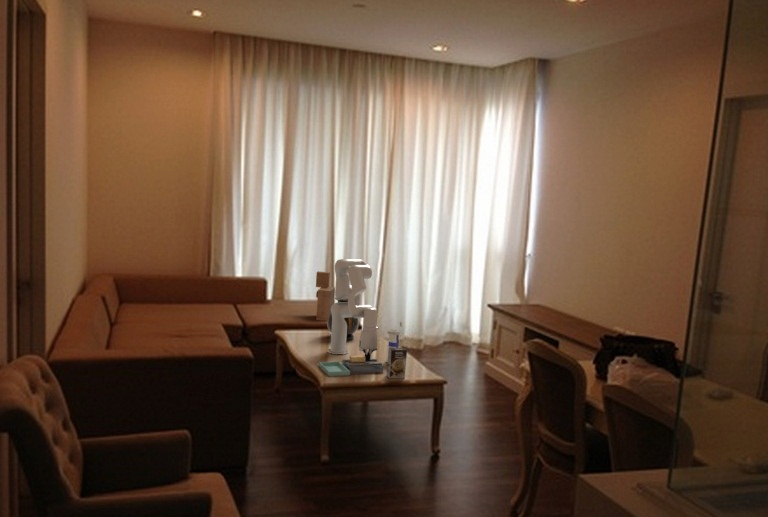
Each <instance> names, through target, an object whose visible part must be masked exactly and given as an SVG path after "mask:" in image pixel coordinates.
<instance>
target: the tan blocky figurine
mask: <svg viewBox="0 0 768 517" xmlns="http://www.w3.org/2000/svg"><path fill="white" fill-rule="evenodd" d="M315 278H316V279H315V288H318V290H316V293H315V294H316V296H315V297H316V300H317V302H316V318H315V320H316V321H322V322H323V321H324V322H325V321H326V322H327V320H328V316H329V314H330V312H331V307H332V305H333V304H334V303H335V286H330V278H331V272H328V271H317V272H316V277H315Z"/></svg>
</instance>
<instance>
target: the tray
mask: <svg viewBox="0 0 768 517" xmlns="http://www.w3.org/2000/svg"><path fill="white" fill-rule="evenodd" d="M318 367H319V368H320V369H321V370H322V372H324V373H325V375H326V376H328V377H347V376H348V377H349V376H351V374H350V371H349V370H348V369H347V368H346V367H345V366H344V365H342V362H340V361H318Z"/></svg>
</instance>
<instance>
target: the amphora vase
mask: <svg viewBox="0 0 768 517" xmlns="http://www.w3.org/2000/svg"><path fill="white" fill-rule="evenodd" d="M334 300H336V301H337V302H348V300H337V299H336V297H335V296H334ZM344 320H345V321H346V323H347V337H346V341H350V340H353V339H354V338H355V335H354V334H355V333H356V332H357V330H358V329H359V323H360V322H359V318H353V317H346V318H344ZM326 326H327V329H328V331H329V332H330V335H329V336H330V338H331V332H332V312H330V314H329V316H328V320H327V321H326Z"/></svg>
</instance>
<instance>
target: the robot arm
mask: <svg viewBox="0 0 768 517" xmlns="http://www.w3.org/2000/svg"><path fill="white" fill-rule="evenodd" d="M334 274H335V286H334V287H335V293H334V298H335V297H336V299H337V300H348V302H338V301H337V300H336V299H335V300H336V301H337V302H334V304H333V305H332V307H331V312H332V332H330V334H331V337H330V348H329V349H327V352H328V354H331V353H332V354H331V355H337V354H343V355H347V354H348V353H349V350H348V349H347V347H346V346H347V340H346V337H347V323H346V321H345V320H344V318H346V317H353V318H358V319H363V322H362V330H361V331H360V335H359V340H358V341H359V342H358V351H360V352H363V353H364V356H365V357H366V359H365V360H366V361H370V359H372V358H371V357H372V354H373V352H376V351H378V345H379V344H378V340H379V339H378V332H377V330H379V327H378V326H377V318H378V309H377V307H373V306H372V305H371V304H361V294H362V293H364V292H365V291H366V290H367V285H366V280H368V279H370V278H372V276H373V269H372V267H371V266H370V264H368V263H367V262H366V261H365V260H363V259H360V258H340V259H337V260H336V262H335V263H334Z"/></svg>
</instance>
